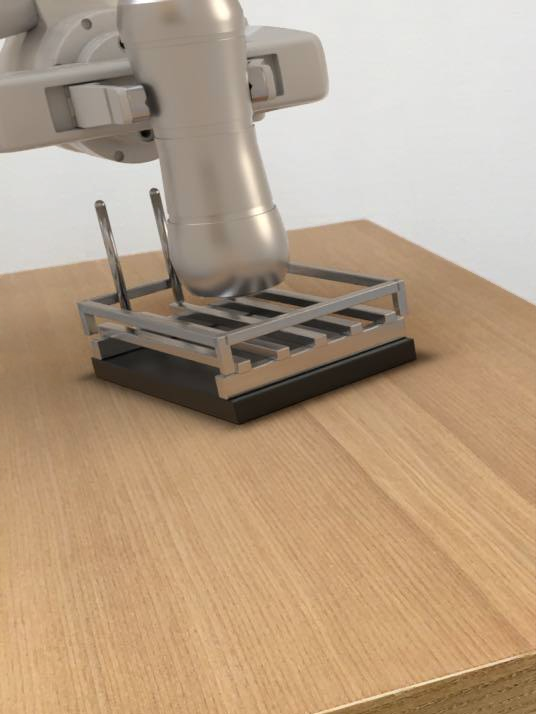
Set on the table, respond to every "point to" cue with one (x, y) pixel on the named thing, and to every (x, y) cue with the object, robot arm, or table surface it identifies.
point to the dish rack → (243, 338)
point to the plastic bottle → (206, 144)
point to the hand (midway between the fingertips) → (200, 94)
